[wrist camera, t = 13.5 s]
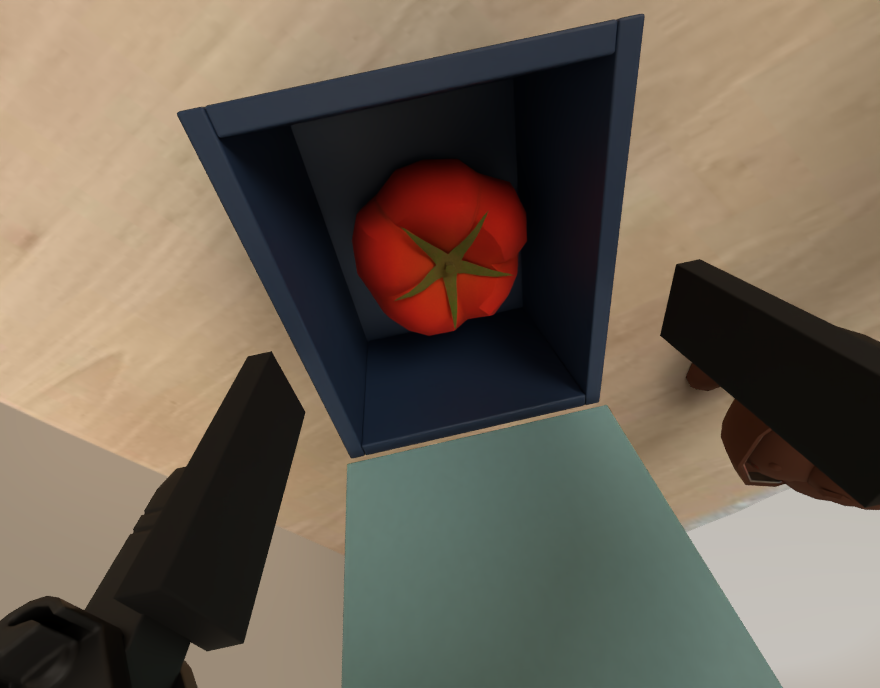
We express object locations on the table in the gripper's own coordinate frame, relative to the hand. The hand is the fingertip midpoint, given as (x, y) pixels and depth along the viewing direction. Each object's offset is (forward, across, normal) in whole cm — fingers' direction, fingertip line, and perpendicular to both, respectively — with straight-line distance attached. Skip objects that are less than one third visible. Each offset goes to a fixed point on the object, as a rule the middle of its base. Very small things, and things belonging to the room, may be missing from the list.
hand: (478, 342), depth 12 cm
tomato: (+13, 0, 0) cm, 13 cm away
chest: (+14, 0, 0) cm, 14 cm away
